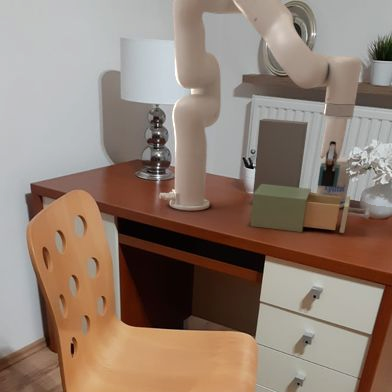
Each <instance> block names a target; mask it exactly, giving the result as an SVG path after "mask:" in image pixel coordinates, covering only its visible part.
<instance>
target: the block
mask: <svg viewBox="0 0 392 392" xmlns="http://www.w3.org/2000/svg"><path fill="white" fill-rule="evenodd" d="M321 163H322V162H321ZM319 166H320V167H319V173H318V181H317V187H318V186H322V185H321V181H322V174H323V170H324V166H325V163H322V164H320V165H319ZM339 170H340V165H338V164H335V170H334V171H335V177H334V183H333V186H332V187H337V182H338V176H339ZM327 187H329V186H327Z"/></svg>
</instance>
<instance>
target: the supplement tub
mask: <svg viewBox="0 0 392 392" xmlns="http://www.w3.org/2000/svg"><path fill="white" fill-rule="evenodd" d="M348 158H349V157H346V156H340V157H339V159H337V162H336V164H338V165H340V170H339V176H338V182H337V187H327V186H318V185H317V187H316V192H315V194H317V195H327V196H337V197H341V201H340V207H339V209H342V208H344V205H345V199H346V196H348V189H349V185H350V181H351V180H350V179H351V175H350V176H349V174H348V173H346V169H347V160H348ZM325 159H326V156H325V157H323V159H322V160H321V164H322V163H325ZM321 164H320V165H321Z"/></svg>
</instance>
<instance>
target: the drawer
mask: <svg viewBox="0 0 392 392" xmlns="http://www.w3.org/2000/svg"><path fill="white" fill-rule="evenodd" d="M340 201H341V197H337V196H327V195H317V194H316V193H310V194H309V196H308V199H307V201H306V208H305V215H304V222H303V227H304V228H313V229H321V230H327V231H328V230H330V231H336V227H337V223H338V218H339V212H340V208H339V207H340ZM350 202H351V196H349V195H346V199H345V205H344V206H343V212H342V217H341V222H340V228H339V233H340V234H345V230H346V224H347V219H348V216H349V217H350V216H351V217H360V218H365V219H366V220H367V219H370V208H368V207H367V208H357V207H350ZM349 211H353V212H349ZM357 212H363V213H357Z"/></svg>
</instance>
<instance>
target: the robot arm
mask: <svg viewBox="0 0 392 392" xmlns="http://www.w3.org/2000/svg"><path fill="white" fill-rule="evenodd" d="M205 13H207V14H215V15H234V14H237V15H238V14H242V15H243V17H245V18H246V20H247V21H248V22H249V23H250V24H251V26H252V27H253V28H254V29H255V31H256V32H257V33H258V34H259V35H260V36H261V38H262V39H263V40H264V42H265V44H266V45H267V48H268V49H269V51H270V53H271V54H272V56H273V59H275V61H276V63H277V64H278V65H279V66H280V68H281V69H282V70H283V71H284V73H285V74H286V75H287V76H288V77H289V79H290V80H291V81H292V82H293V83H294V84H295V85H296V86H299V87H300V88H302V89H305V90H306V89H307V90H308V89H313V88H321V87H326V91H325V98H324V99H325V100H324V106H323V115H322V117H323V118H326V120H325V125H324V131H323V137H322V143H321V151H320V156H319V157H320V158H321V159H322V160H323V157H325V156H326V159H325V166H324V170H323V174H322V181H321V185H322V186H329V187H332V186H333V183H334V177H335V171H334V170H335V164H336V162H337V159H339V157H341V154H342V150H343V147H344V142H345V137H346V131H347V125H348V121H349V120H352V119H353V118H354V112H355V107H356V100H357V95H358V94H357V93H358V88H359V81H360V75H361V69H362V59H361V58H360V57H358V56H351V55H337V56H331V55H326V54H320V53H314V52H313V51H312V50H311V49H310V48H309V46H308V45H307V44H306V43H305V42H304V40H303V39H302V38H301V36H300V35H299V33H298V32H297V30H296V28H295V25H294V17H293V14H292V12H291V11H290V9H289V8H288V7H287V6H286V5H285V4H284V2H283V1H282V0H173V1H172V21H173V22H172V23H173V37H174V38H173V40H174V42H173V44H174V45H173V46H174V71H175V78H176V82H177V83H178V84H179V86H180V87H182V88H183V89H188V90H190V93H191V94H185V95H183V96H181V97H179V99H178V100H177V101H176V102H175V104H174V106H173V109H172V124H173V125H172V126H173V131H174V188H172V191H169V192H160V193H159V200H164V201H169V206H170V207H171V208H172V209H176V210H179V211H188V212H189V211H191V212H192V211H202V210H203V211H204V210H206V209H208V208H209V207H210V203H211V202H210V201H209V200H208V199H206V179H207V156H208V153H207V152H208V142H207V134H206V128H210V127H211V126H213V125H214V124H216V123H217V121H218V119H219V118H220V115H221V105H222V103H221V100H222V99H221V98H222V96H221V93H222V92H221V87H222V86H221V67H220V64H219V61H218V59H217V57H216V56H215V55H214V54H213V53H212V52H210V51H207V49H206V29H205V24H204V20H203V14H205Z"/></svg>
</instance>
